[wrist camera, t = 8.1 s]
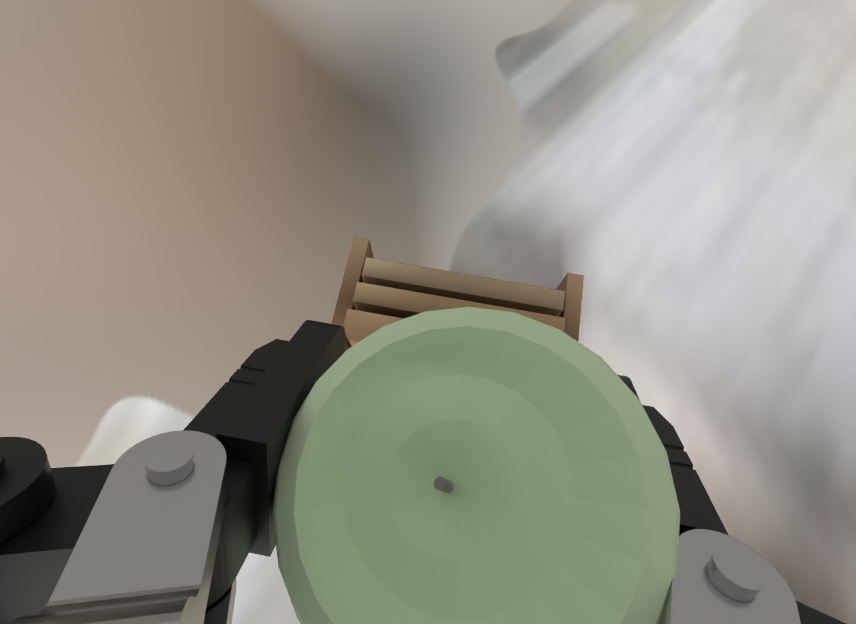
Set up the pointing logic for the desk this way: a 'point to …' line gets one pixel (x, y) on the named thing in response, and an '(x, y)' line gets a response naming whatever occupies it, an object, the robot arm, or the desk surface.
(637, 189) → the desk surface
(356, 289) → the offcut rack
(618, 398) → the candle
